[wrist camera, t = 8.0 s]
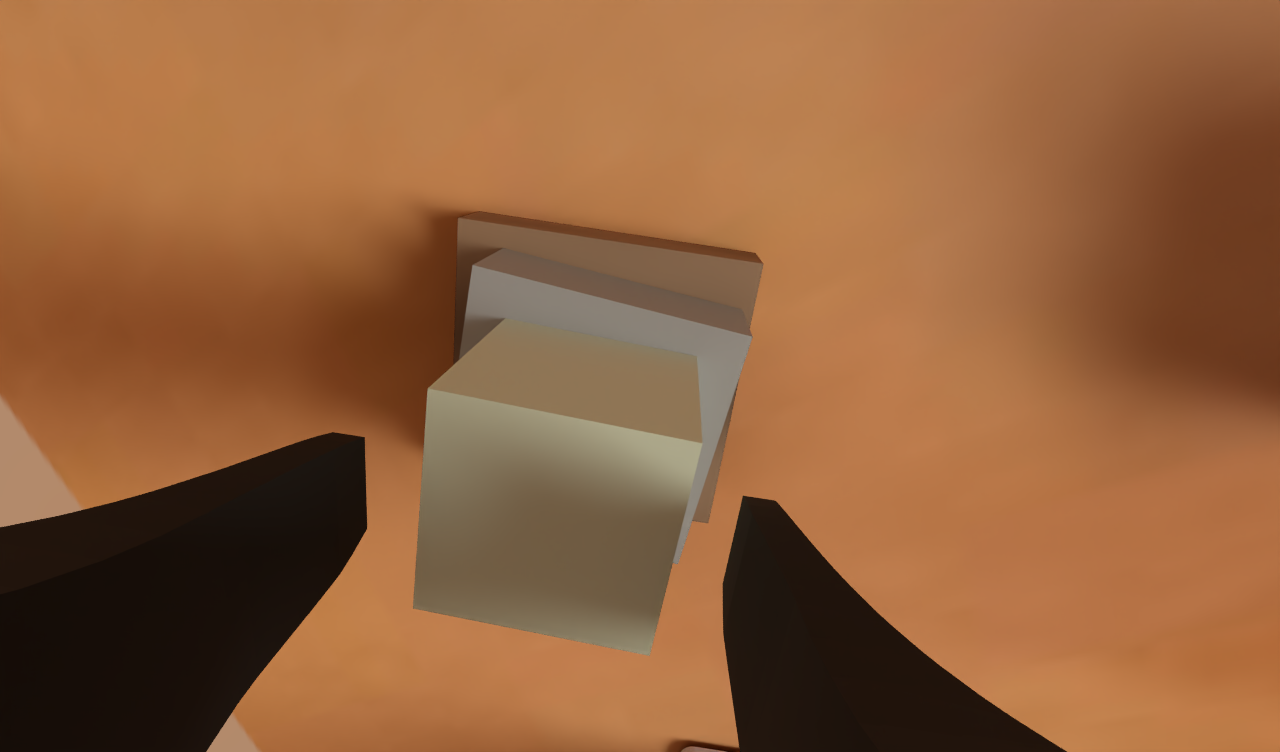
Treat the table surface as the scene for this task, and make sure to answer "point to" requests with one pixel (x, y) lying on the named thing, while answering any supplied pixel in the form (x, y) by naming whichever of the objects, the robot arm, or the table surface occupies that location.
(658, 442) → the sage cube
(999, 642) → the table surface
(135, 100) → the table surface
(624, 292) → the middle block
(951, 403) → the table surface
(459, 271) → the base block
